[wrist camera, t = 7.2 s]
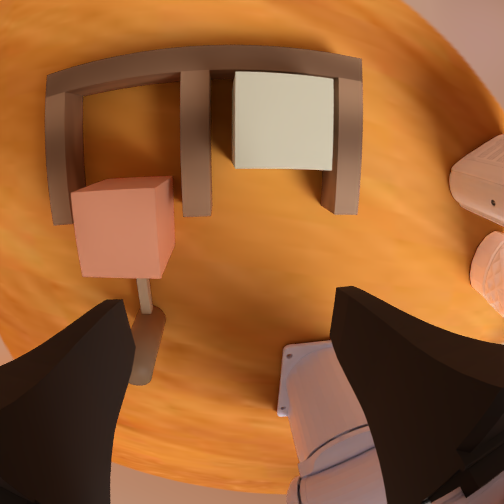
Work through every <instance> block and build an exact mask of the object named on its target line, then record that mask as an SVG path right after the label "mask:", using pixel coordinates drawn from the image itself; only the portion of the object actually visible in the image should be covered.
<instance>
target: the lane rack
mask: <svg viewBox="0 0 504 504" xmlns="http://www.w3.org/2000/svg"><path fill="white" fill-rule="evenodd" d="M235 72H269V73H285V74H297V75H307V76H315V77H323V78H330V79H333V89H334V114H333V156H332V171H330V170H323V175H322V194H321V206H323V207H324V208H326V209H327V210H329V211H330V212H332V213H333V214H335V215H357V213H358V202H359V190H360V176H361V159H362V131H363V84H362V59H360V58H355V57H350V56H345V55H340V54H334V53H328V52H322V51H315V50H307V49H298V48H288V47H276V46H259V45H206V46H189V47H177V48H167V49H159V50H151V51H144V52H138V53H132V54H126V55H121V56H116V57H111V58H106V59H102V60H98V61H94V62H90V63H86V64H82V65H78V66H75V67H71V68H68V69H65V70H62V71H58V72H55V73H52V74H49V75H47V83H46V100H45V149H46V166H47V178H48V188H49V197H50V205H51V212H52V218H53V224H54V225H65V224H73V223H74V220H73V212H72V201H71V192H74V191H76V190H79V189H81V188H84V187H86V183H85V170H84V154H83V96H87V95H92V94H96V93H101V92H106V91H111V90H117V89H123V88H129V87H135V86H142V85H150V84H159V83H168V82H179V81H180V151H181V182H182V203H183V217H199V216H211V211H212V177H211V80H216V79H234V77H235Z"/></svg>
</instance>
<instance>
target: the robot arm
mask: <svg viewBox="0 0 504 504" xmlns="http://www.w3.org/2000/svg"><path fill="white" fill-rule="evenodd" d="M330 339H331V340H328V341H319V342H310V343H300V344H290V345H287V346H285V347H284V349H283V357H282V367H281V378H280V388H279V397H278V407H277V415H278V416H280V417H282V416H288V419H289V423H290V427H291V431H292V435H293V439H294V443H295V448H296V452H297V456H298V459H299V462H300V463H298V468H299V472H300V476H297V477H295V478H294V479H293V480H292V481H291V483H290V487H289V489H288V491H287V498H286V501H287V504H504V345H501V344H495V343H490V342H485V341H480V340H476V339H473V338H469V337H465V336H462V335H458V334H455V333H452V332H449V331H447V330H444V329H441V328H439V327H436V326H434V325H431V324H429V323H426V322H424V321H422V320H420V319H418V318H416V317H413V316H411V315H409V314H407V313H405V312H403V311H401V310H399V309H397V308H396V307H394V306H392V305H390V304H388V303H386V302H384V301H382V300H380V299H379V298H377V297H375V296H373V295H371V294H369V293H367V292H365V291H363V290H361V289H359V288H357V287H354V286H347V287H337V288H336V295H335V302H334V309H333V316H332V323H331V329H330ZM135 349H136V346H135V342H134V339H133V336H132V332H131V329H130V325H129V322H128V318H127V314H126V310H125V306H124V303H123V299H114V300H105V301H103V302H102V303H100V304H98V305H97V306H95V307H94V308H92V309H91V310H90V311H88V312H87V313H85V314H84V315H83V316H81V317H80V318H79V319H77V320H76V321H74V322H73V323H72V324H70V325H69V326H68V327H66V328H65V329H63V330H62V331H60V332H59V333H57V334H56V335H55V336H53V337H52V338H50V339H49V340H47V341H46V342H44V343H43V344H41V345H40V346H38V347H36V348H35V349H33V350H31V351H30V352H28V353H26V354H24V355H22V356H21V357H19V358H17V359H15V360H13V361H11V362H8V363H6V364H4V365H2V366H0V504H110V472H111V457H112V447H113V439H114V432H115V428H116V423H117V419H118V416H119V412H120V409H121V405H122V402H123V399H124V395H125V392H126V389H127V385H128V382H129V379H130V376H131V372H132V367H133V362H134V356H135ZM288 354H291V355H289V356H287V355H288Z"/></svg>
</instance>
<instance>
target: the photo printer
mask: <svg viewBox="0 0 504 504" xmlns="http://www.w3.org/2000/svg"><path fill="white" fill-rule="evenodd" d="M451 171H452V172H451V173H450V177H449V185H450V190H451V193H452V196H453V197H454V199H455V200H456V201H457V202H459V204H460V206H461V207H462V208H464V209H466V210H468V211H470V212H473V213H475V214H477V215H479V216H482V217H484V218H486V219H488V220H490V221H492V222H495V223H497V224H499V225H501V226H503V227H504V134H501V135H498V136H496V137H494V138H493V139H491V140H489V141H488V142H486V143H484V144H483V145H481V146H480V147H478V148H477V149H475V150H474V151H472V152H471V153H469V154H467V155H466V156H465V157H463V158H462V159H461V160H459V161H458V162H457V163H456V164H455V165H454V166H453V167H452V168H451Z"/></svg>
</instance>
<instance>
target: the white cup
mask: <svg viewBox="0 0 504 504" xmlns="http://www.w3.org/2000/svg"><path fill="white" fill-rule="evenodd" d="M470 281H471V286H472V287H473V288H474V289H475V290H476V291H477V292H478V293H479V294H480V295H482V296H483V297H484V298H485V299H486V300H487V301H488V303H489V304H490V305H491V306H492V307H493V308H494V309H495V310H496V311H497V312H498V313H499V314H500V315H501V316H502V317H503V318H504V233H502V232H498V231H493V232H492V233H490V234H489V235H487V236H486V237H485V238H484V239H483V241H482V242H481V244H480V245H479V246H478V248H477V251H476V253H475V255H474V258H473V260H472V264H471V270H470Z"/></svg>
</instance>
